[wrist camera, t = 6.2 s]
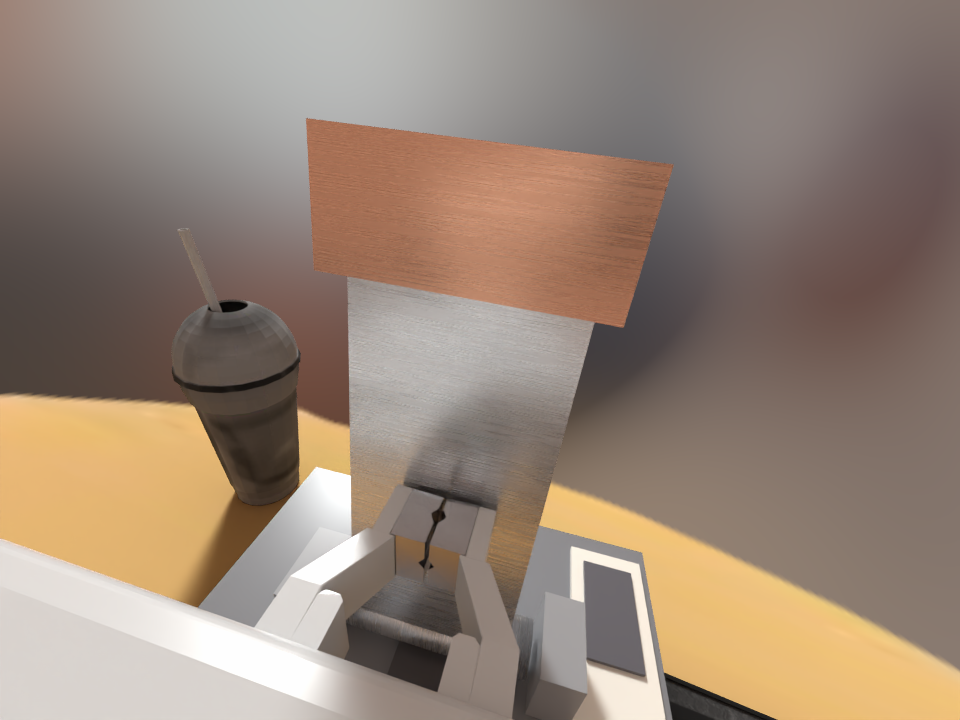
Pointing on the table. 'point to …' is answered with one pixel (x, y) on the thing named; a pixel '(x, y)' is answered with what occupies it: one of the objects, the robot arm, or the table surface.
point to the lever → (469, 327)
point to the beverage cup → (242, 388)
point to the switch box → (544, 597)
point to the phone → (704, 704)
